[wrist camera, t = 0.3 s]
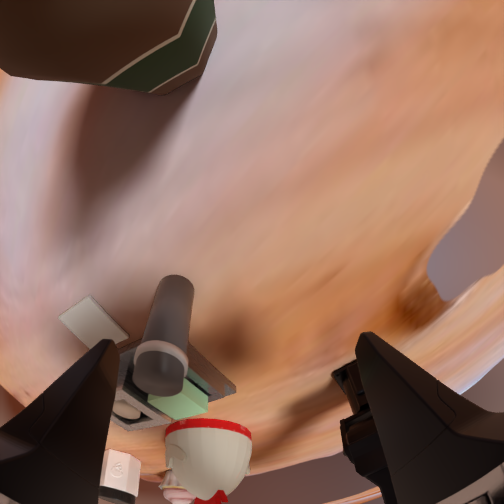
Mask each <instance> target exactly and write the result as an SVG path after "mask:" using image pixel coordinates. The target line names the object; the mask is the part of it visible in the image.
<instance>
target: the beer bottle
mask: <svg viewBox="0 0 504 504" xmlns="http://www.w3.org/2000/svg"><path fill="white" fill-rule="evenodd" d="M216 38H217V24H216V16H215V7H214V0H0V68H1V69H2V70H3V71H5V72H6V73H7V74H9V75H10V76H15V77H22V78H29V79H35V80H47V81H62V82H74V83H83V84H92V85H100V86H107V87H114V88H120V89H127V90H134V91H140V92H146V93H151V94H157V95H166V94H168V93H169V92H171V91H173V90H175V89H176V88H178V87H180V86H181V85H183V84H185V83H187V82H189V81H190V80H192V79H194V78H196V77H198V76H200V75H202V74H203V72H204V69H205V67H206V64H207V61H208V58H209V56H210V53H211V51H212V48H213V45H214V43H215V40H216Z"/></svg>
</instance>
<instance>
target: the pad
mask: <svg viewBox="0 0 504 504" xmlns="http://www.w3.org/2000/svg"><path fill="white" fill-rule="evenodd" d="M58 319H59V320H60V321H61V322H62V323H63V324H64V325H65V326H66V327H67V328H68V329H69V330H70V331H71V332H72V333H73V334H74V335H75V336H76V337H77V338H78V339H79V340H80V341H82V342H83V343H84V344H85V345H86V346H87V347H88V348H89V349H91V348H92V347H93V346H95V345H96V344H97V343H98V342H99V341H100V340H102V339H104V338H105V339H113V340H114V342H115V344H117V343H119V342H121V341H123V340H125V339H127V338H129V335H128V334H127V333H126V332H125V331H124V330H123V329H122V328H121V327H120V326H119V325H118V324H117V323H116V322H115V321H114V320H113V319H112V318H111V317H110V316H109V315H108V314H107V313H106V312H105V311H104V310H103V309H102V307H101V306H100V305H99V304H98V303H97V302H96V301H95V300H94V299H93V298H92V297H91V296H90V294H89V295H88V296H86V297H85V298H83V299H82V300H81V301H79V302H78V303H76V304H75V305H73V306H72V307H70V308H69V309H68V310H66V311H65V312H63V313H62V314H61V315H59V317H58Z"/></svg>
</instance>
